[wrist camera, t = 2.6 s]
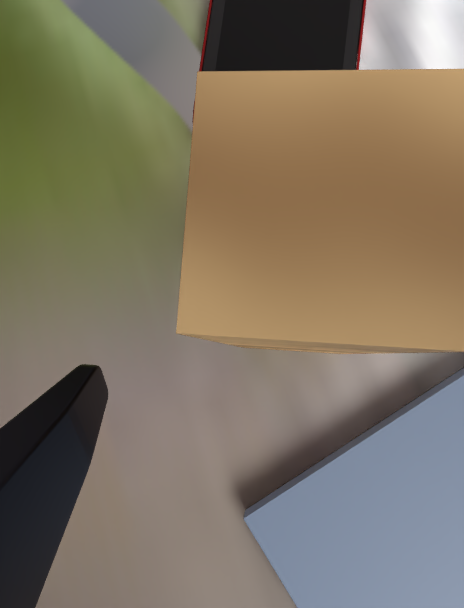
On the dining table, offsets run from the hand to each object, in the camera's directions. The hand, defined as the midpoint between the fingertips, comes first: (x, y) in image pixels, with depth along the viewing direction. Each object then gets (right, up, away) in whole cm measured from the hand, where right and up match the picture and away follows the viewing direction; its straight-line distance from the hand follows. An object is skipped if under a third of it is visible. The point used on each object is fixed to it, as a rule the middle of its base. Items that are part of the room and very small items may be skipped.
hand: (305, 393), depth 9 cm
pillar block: (+1, +2, +11) cm, 11 cm away
